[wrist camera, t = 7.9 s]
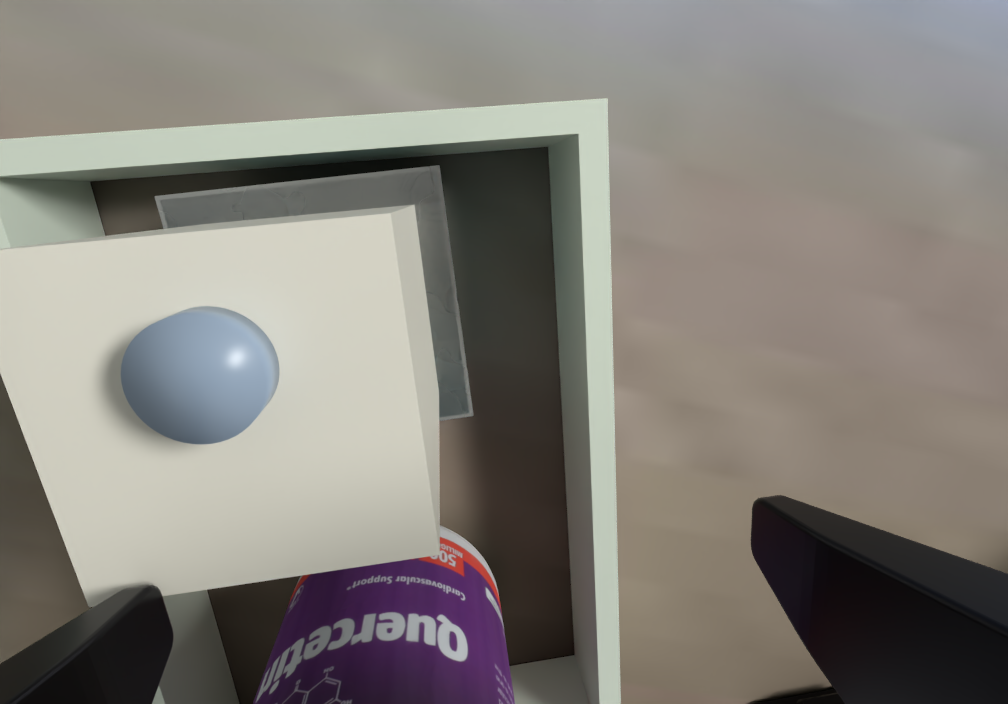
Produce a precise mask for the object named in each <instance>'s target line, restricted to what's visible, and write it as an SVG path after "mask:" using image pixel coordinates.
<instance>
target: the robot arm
mask: <svg viewBox="0 0 1008 704" xmlns="http://www.w3.org/2000/svg"><path fill="white" fill-rule="evenodd" d="M751 549H752V553H753V556H754V559H755V561H756V563H757V564H758V566H759V568H760V570H761V571H762V573H763V575H764V576H765V578H766V580H767V582H768V583H769V585H770V587H771V589H772V590H773V592H774V594H775V596H776V597H777V599H778V601H779V603H780V604H781V606H782V608H783V609H784V611H785V613H786V615H787V616H788V618H789V620H790V622H791V623H792V625H793V627H794V629H795V630H796V632H797V634H798V635H799V637H800V639H801V640H802V642H803V644H804V645H805V647H806V649H807V650H808V652H809V653H810V655H811V656H812V658H813V659H814V660H815V662H816V663H817V665H818V666H819V668H820V669H821V671H822V672H823V673H824V675H825V676H826V678H827V679H828V680H829V682H830V683H831V685H832V686H833V688H834V689H832V690H826V691H821V692H815V693H810V694H804V695H799V696H793V697H788V698H782V699H777V700H771V701H766V702H761V703H758V704H1008V574H1007V573H1004V572H1001V571H998V570H995V569H992V568H990V567H987V566H984V565H981V564H978V563H975V562H972V561H969V560H967V559H964V558H961V557H958V556H955V555H952V554H949V553H946V552H944V551H941V550H938V549H935V548H932V547H929V546H926V545H923V544H921V543H918V542H915V541H912V540H909V539H906V538H903V537H901V536H898V535H895V534H892V533H889V532H886V531H883V530H880V529H878V528H875V527H872V526H869V525H866V524H863V523H860V522H857V521H855V520H852V519H849V518H846V517H843V516H840V515H837V514H834V513H832V512H829V511H826V510H823V509H820V508H817V507H814V506H811V505H809V504H806V503H803V502H800V501H797V500H794V499H791V498H788V497H786V496H782V495H777V496H770V497H763V498H758V499H757V500H755V502H754V503H753V507H752V526H751ZM173 637H174V636H173V629H172V625H171V622H170V619H169V616H168V612H167V609H166V606H165V603H164V599H163V596H162V593H161V591H160V589H159V588H158V587H157V586H154V585H145V586H137V587H130V588H126V589H122V590H121V591H119V592H117V593H115V594H114V595H112V596H111V597H109V598H107V599H106V600H104V601H102V602H101V603H99V604H97V605H96V606H94V607H93V608H91V609H89V610H88V611H86V612H84V613H83V614H81V615H80V616H78V617H76V618H75V619H73V620H71V621H70V622H68V623H66V624H65V625H63V626H62V627H60V628H58V629H57V630H55V631H53V632H52V633H50V634H48V635H47V636H45V637H44V638H42V639H40V640H39V641H37V642H35V643H34V644H32V645H30V646H29V647H27V648H26V649H24V650H22V651H21V652H19V653H17V654H16V655H14V656H12V657H11V658H9V659H8V660H6V661H4V662H3V663H1V664H0V704H152V703H153V700H154V697H155V694H156V691H157V689H158V686H159V683H160V680H161V678H162V675H163V672H164V669H165V667H166V664H167V661H168V658H169V656H170V653H171V650H172V646H173Z"/></svg>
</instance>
